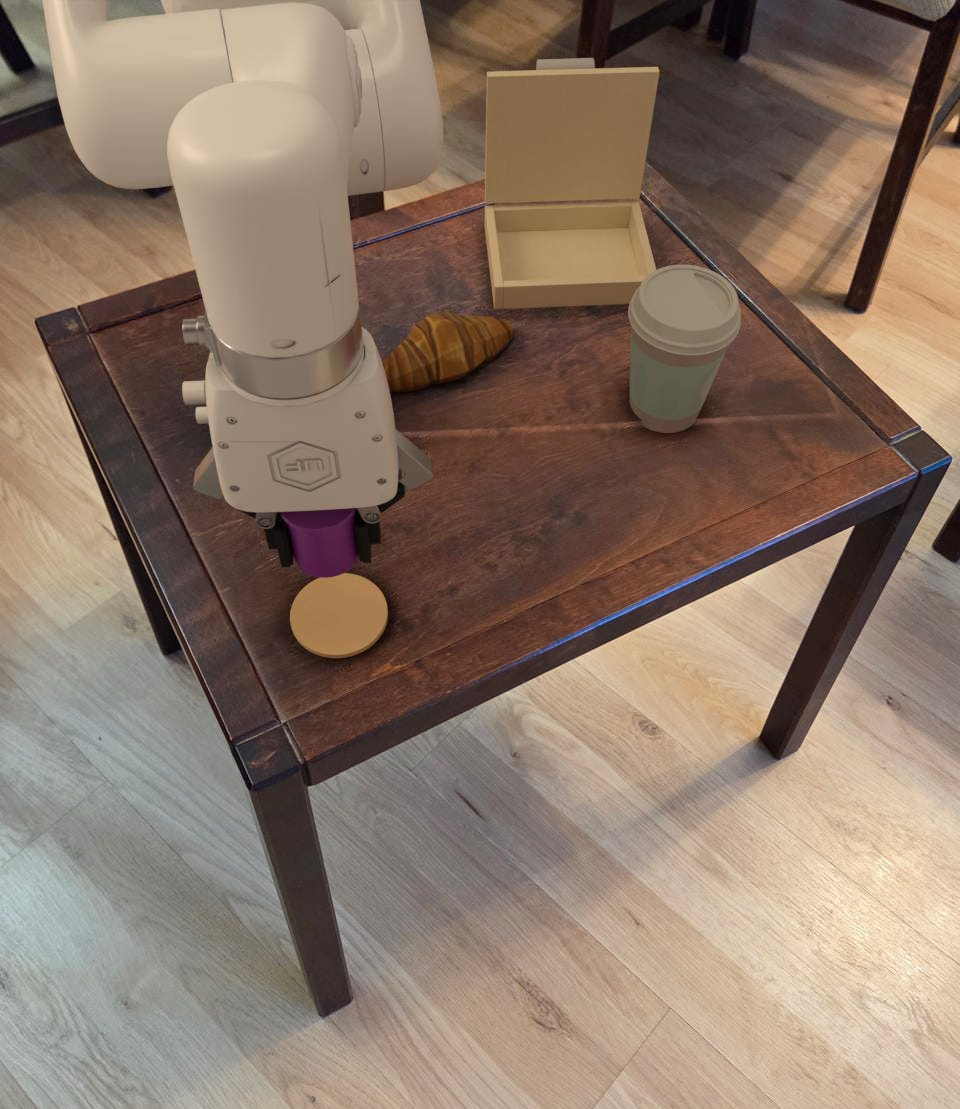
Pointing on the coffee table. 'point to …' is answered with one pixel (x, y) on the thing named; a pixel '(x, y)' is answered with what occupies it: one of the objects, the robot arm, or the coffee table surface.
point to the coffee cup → (678, 343)
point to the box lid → (567, 131)
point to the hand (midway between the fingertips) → (326, 545)
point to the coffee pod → (323, 540)
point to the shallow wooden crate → (566, 253)
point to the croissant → (445, 350)
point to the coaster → (339, 615)
